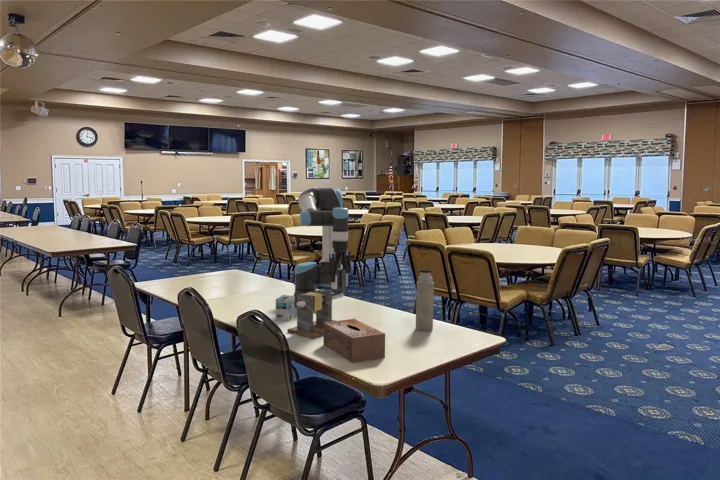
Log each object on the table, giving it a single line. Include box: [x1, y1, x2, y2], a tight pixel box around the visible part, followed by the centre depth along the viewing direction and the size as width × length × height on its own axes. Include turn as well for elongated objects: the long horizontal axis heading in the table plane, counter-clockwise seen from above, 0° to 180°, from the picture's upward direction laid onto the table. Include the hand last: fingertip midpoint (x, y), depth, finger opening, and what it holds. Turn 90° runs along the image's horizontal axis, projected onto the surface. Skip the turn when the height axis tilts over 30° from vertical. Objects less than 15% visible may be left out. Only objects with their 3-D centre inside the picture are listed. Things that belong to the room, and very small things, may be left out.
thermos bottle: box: [415, 269, 435, 332], centre depth 258 cm, size 8×8×28 cm
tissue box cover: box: [322, 318, 386, 364], centre depth 224 cm, size 26×14×10 cm, turn 29°
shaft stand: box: [287, 288, 336, 339], centre depth 256 cm, size 26×16×18 cm, turn 143°
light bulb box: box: [275, 294, 296, 322], centre depth 276 cm, size 11×7×11 cm, turn 168°
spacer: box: [305, 292, 322, 312], centre depth 251 cm, size 5×7×7 cm
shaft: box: [296, 268, 347, 308], centre depth 255 cm, size 30×5×14 cm, turn 143°
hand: (339, 287), depth 266 cm, fingers open, 8 cm apart
